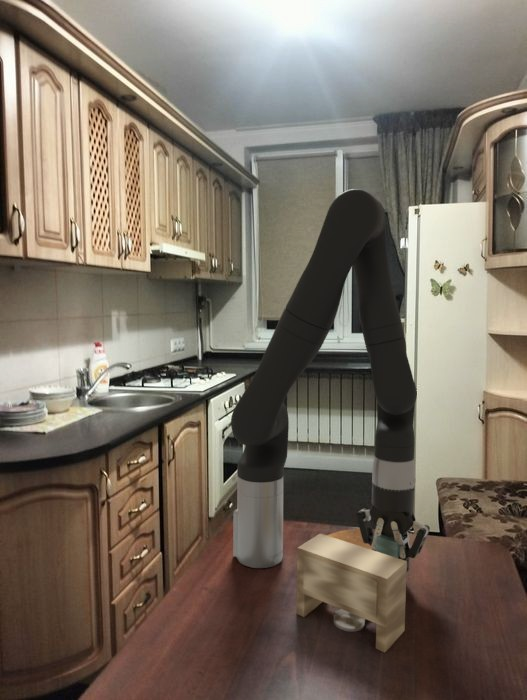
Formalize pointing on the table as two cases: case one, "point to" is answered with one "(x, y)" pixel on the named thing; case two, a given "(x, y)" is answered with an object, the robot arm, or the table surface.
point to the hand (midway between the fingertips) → (390, 570)
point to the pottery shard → (351, 537)
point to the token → (348, 621)
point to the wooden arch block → (353, 584)
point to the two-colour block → (387, 545)
